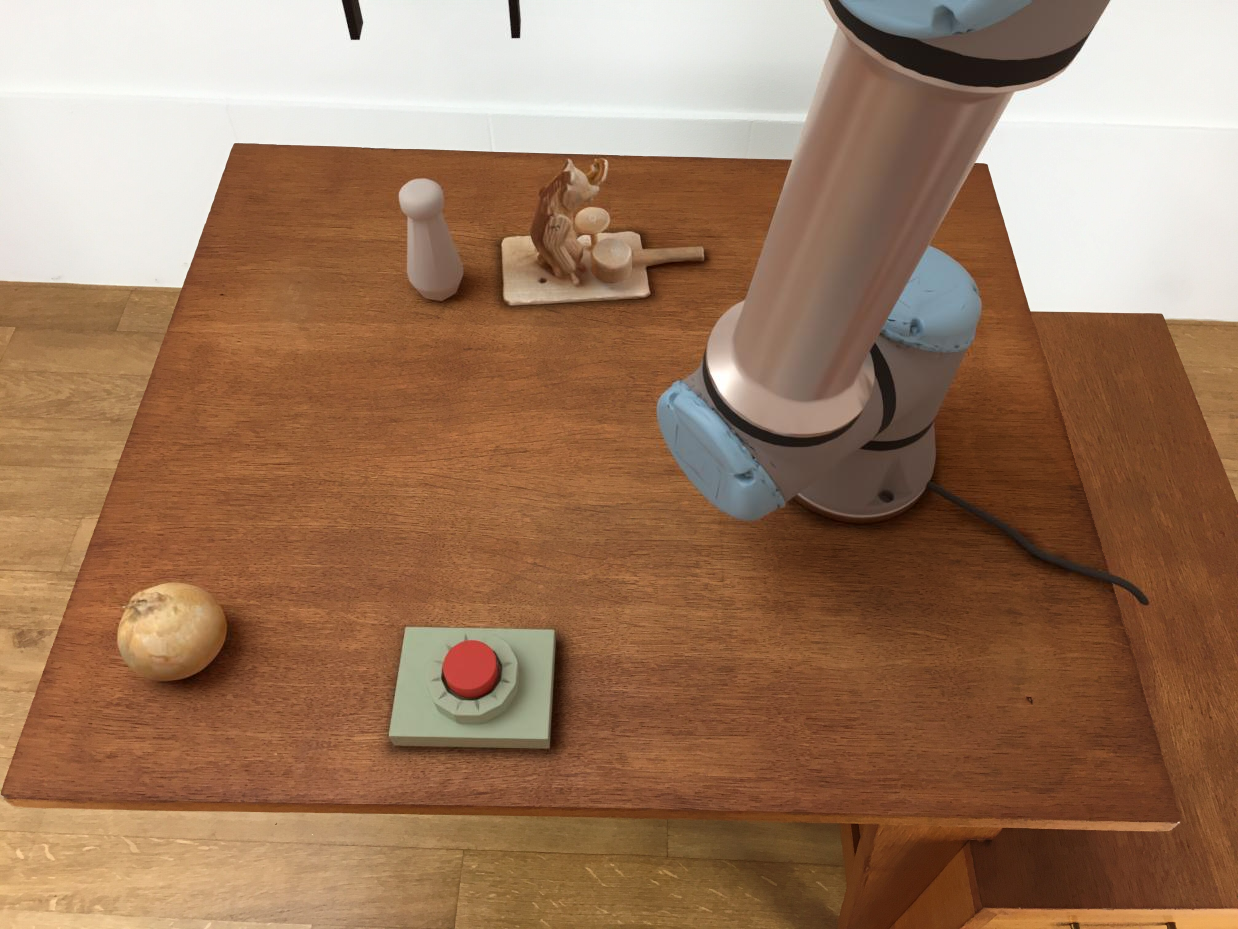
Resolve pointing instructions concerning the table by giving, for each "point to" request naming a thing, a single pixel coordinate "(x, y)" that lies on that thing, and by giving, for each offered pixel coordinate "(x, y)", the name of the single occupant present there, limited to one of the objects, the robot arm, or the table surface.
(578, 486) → the table surface
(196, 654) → the onion
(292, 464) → the table surface
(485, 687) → the switch
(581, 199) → the wooden toy
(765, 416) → the robot arm
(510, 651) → the switch base
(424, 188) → the salt shaker
